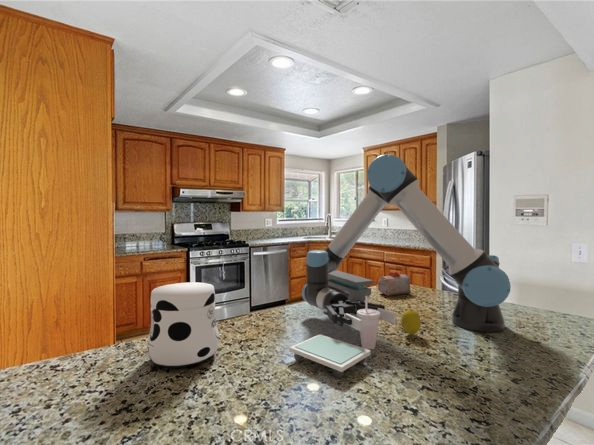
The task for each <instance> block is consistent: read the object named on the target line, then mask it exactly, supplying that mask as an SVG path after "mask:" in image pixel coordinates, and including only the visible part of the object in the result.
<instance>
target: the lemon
mask: <svg viewBox="0 0 594 445" xmlns="http://www.w3.org/2000/svg"><path fill="white" fill-rule="evenodd" d="M421 322H422V321H421V316H420V315H419V313H418V312H417V311H416V310H413V309H412V308H409V309H407V310H405V311H404V312H403V314H402V316H401V324H400V325H401V327H402V329H403V331H405V332H406V334H407V333H408V335H409V336H413V335H414V334H416V333H418V332H419V331H420V329H421Z"/></svg>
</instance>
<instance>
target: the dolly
mask: <svg viewBox="0 0 594 445" xmlns="http://www.w3.org/2000/svg"><path fill="white" fill-rule="evenodd" d="M288 349H289V352H291V353H292V354H293V357H294V359H295V361H296V362H297V363H300V362H303V361H304V360H305V359H308V360H310V361H313V362H315V363H318V364H321V365H323V366H326V367H328V368H331V369H332V374H333V376H334V378H335V379H340V378H342V377H344V375H345V371H346V370H347V369H349V368H351V367H353V366H354V365H356V364H357V365H360V366H361V365H363V364H365V363H366V360H367V359H366V358H367V357H369V356H370V355H371V350H372V349H365V348H363V347H362V346H358V345H356V344H355V345H354V344H351V343H348V342H345V341H342V340H338V339H336V338H332V337H330V336H327V335H323V334H320V333H319V334H317V335H315V336H312V337H310V338H308V339H306V340H303V341H301V342H299V343H296V344H294V345H292V346H289V347H288Z"/></svg>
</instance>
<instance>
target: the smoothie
mask: <svg viewBox="0 0 594 445" xmlns="http://www.w3.org/2000/svg"><path fill="white" fill-rule="evenodd" d="M364 302H365V309H360V310H358V311H357V314H356V316H357V318H358V319H361V320H362V331H359V338H360V345H361V348H364V349H367V350H373V349H375V348H376V345H377V344H376V343H377V337H378V336H377V335H378V329H379V320H380V318H379V317H380V312H379V311H377V310H374V309H367V302H368V298H367V296H365V301H364Z"/></svg>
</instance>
